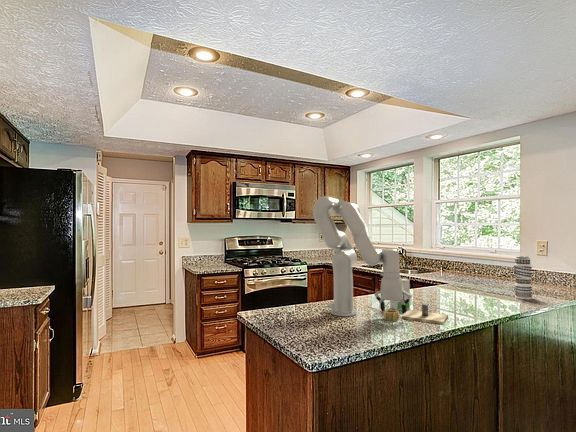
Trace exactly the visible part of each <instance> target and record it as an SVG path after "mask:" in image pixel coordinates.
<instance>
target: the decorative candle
mask: <svg viewBox="0 0 576 432" xmlns="http://www.w3.org/2000/svg"><path fill="white" fill-rule="evenodd" d="M514 259H515V260H514V262H515V263H514V265H513V267H514V270H513V271H514V279H515V285H514V290H515V291H514V295H515V298H517V299H521V300H532V299H533V298H532V297H533V292H532V291H533V289H532V288H533V286H532V283H531V282H532V281H531V280H532V278H533V276H532V274H533V273H532V271H533V267H532V264H531V258H530V257H529V256H528V255H517V256H516V257H515V258H514Z"/></svg>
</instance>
